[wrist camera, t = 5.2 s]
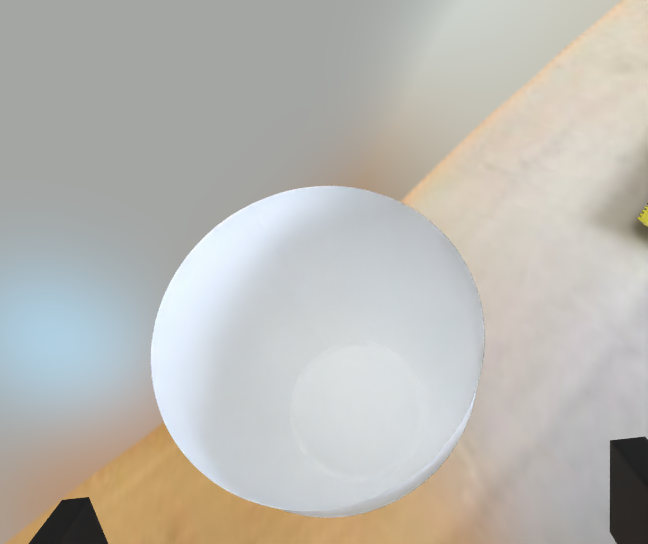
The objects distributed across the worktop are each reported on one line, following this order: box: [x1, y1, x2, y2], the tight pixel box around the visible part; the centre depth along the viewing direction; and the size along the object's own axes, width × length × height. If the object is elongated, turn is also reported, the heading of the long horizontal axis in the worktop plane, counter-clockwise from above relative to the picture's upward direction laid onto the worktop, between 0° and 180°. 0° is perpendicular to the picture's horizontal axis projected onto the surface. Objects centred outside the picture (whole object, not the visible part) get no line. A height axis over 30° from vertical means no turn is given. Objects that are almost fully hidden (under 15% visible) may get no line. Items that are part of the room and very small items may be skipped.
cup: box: [151, 186, 485, 518], centre depth 17 cm, size 9×9×12 cm
